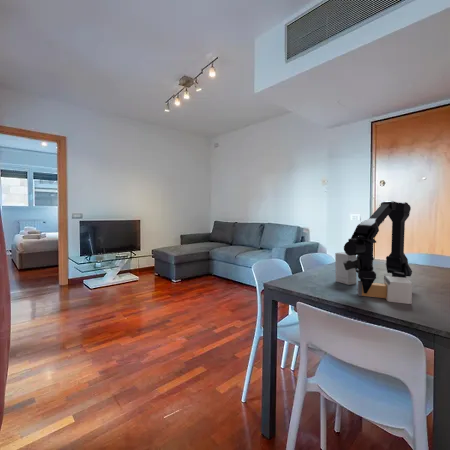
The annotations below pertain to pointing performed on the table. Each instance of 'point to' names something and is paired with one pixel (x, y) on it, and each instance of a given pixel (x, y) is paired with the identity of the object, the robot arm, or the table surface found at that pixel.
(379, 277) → the table surface
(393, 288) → the block
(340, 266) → the skincare box
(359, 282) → the plug
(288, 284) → the table surface
